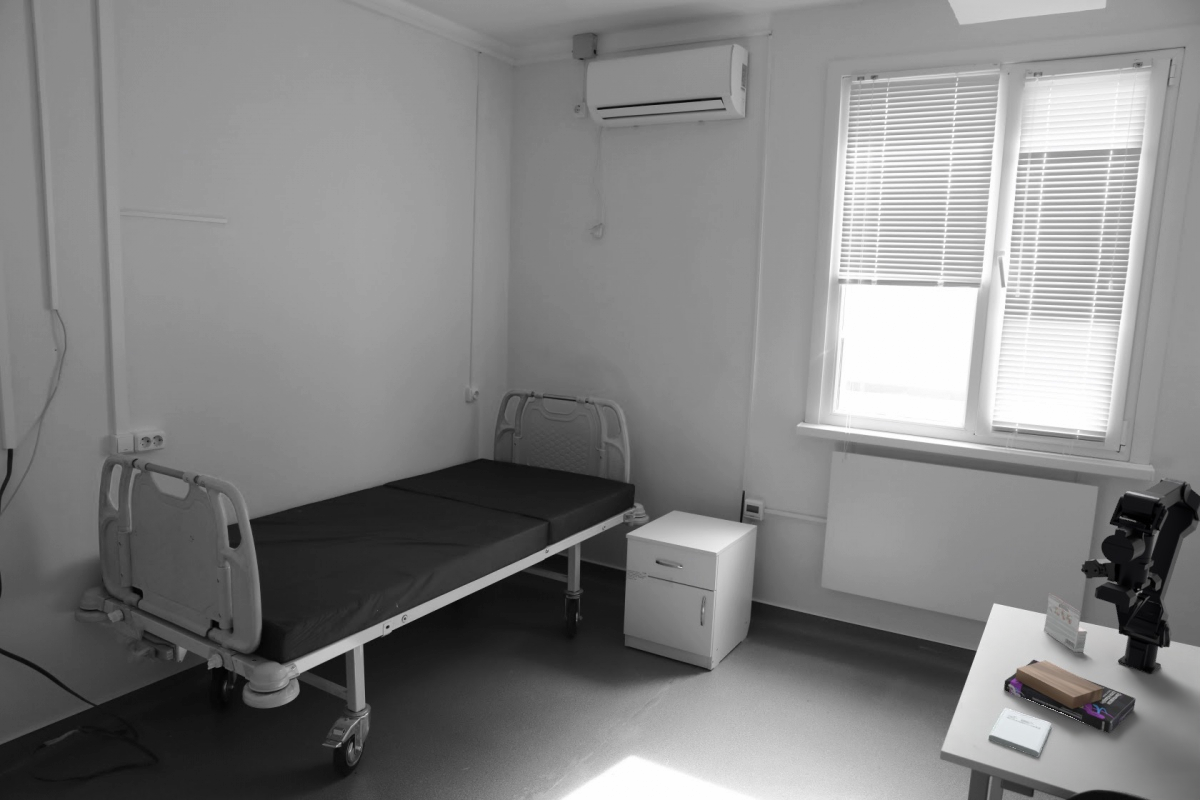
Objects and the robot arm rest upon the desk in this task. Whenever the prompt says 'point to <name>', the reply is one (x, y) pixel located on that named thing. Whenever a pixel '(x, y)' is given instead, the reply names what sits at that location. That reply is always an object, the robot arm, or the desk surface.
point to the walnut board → (1059, 684)
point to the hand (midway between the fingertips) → (1122, 626)
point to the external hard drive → (1020, 731)
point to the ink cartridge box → (1065, 624)
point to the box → (1095, 714)
